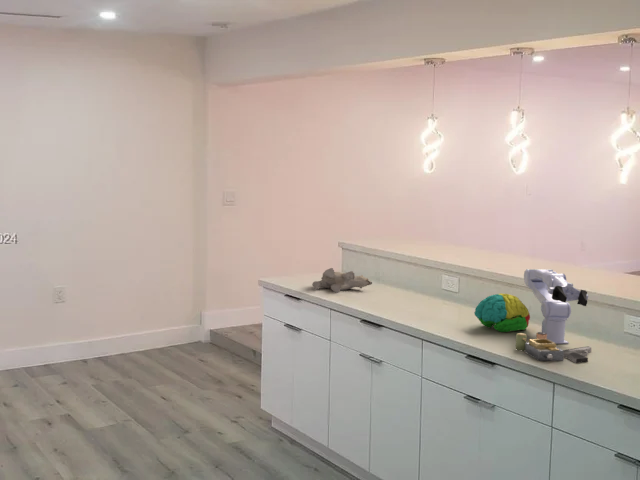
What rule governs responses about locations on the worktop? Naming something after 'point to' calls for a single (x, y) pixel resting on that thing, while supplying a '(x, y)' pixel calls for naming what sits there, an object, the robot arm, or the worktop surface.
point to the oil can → (521, 341)
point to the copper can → (541, 335)
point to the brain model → (503, 313)
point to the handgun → (577, 354)
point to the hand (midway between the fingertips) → (575, 301)
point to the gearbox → (544, 350)
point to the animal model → (341, 281)
